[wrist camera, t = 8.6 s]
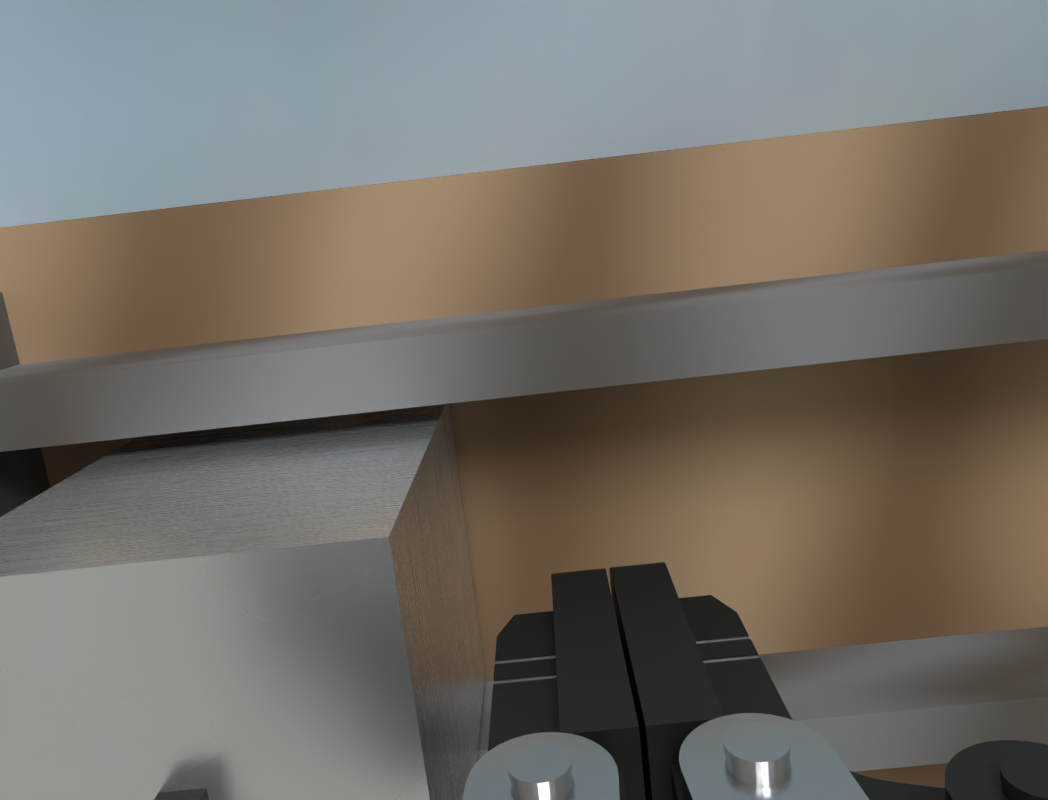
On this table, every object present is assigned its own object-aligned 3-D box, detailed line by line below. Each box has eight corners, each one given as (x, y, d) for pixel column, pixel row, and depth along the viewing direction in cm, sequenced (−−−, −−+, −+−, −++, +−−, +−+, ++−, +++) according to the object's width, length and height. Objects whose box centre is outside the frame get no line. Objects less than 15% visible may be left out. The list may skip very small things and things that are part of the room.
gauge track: (1190, 94, 14) (1876, -25, 7) (1153, 720, 17) (1624, 1108, 10) (-71, 239, 15) (-640, 270, 8) (82, 820, 18) (-235, 1253, 10)
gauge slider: (448, 398, 14) (378, 558, 8) (500, 784, 15) (479, 1185, 9) (149, 430, 14) (-167, 613, 8) (231, 810, 16) (27, 1220, 9)
